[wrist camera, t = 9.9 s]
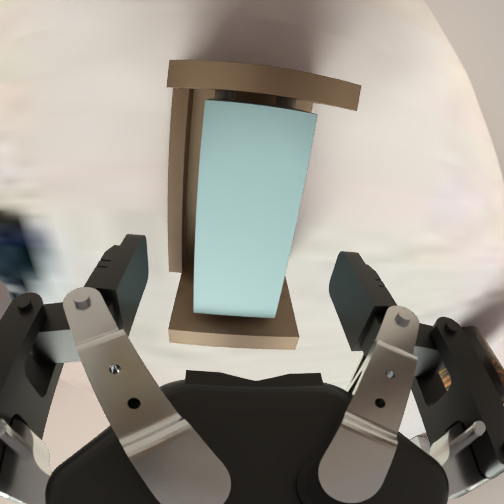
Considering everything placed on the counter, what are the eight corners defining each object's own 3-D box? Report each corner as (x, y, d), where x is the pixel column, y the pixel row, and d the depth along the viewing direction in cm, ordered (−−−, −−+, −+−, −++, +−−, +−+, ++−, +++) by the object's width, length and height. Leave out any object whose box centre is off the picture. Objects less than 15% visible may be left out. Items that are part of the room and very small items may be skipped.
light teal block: (199, 274, 21) (193, 312, 18) (212, 98, 15) (205, 100, 12) (268, 280, 21) (274, 318, 18) (299, 109, 15) (317, 114, 12)
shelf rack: (176, 263, 25) (154, 340, 17) (183, 72, 17) (146, 60, 10) (278, 271, 26) (295, 349, 18) (311, 86, 18) (361, 85, 10)
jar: (467, 313, 32) (520, 395, 19) (483, 339, 36) (523, 405, 23) (405, 366, 36) (441, 452, 23) (432, 382, 40) (462, 451, 27)
